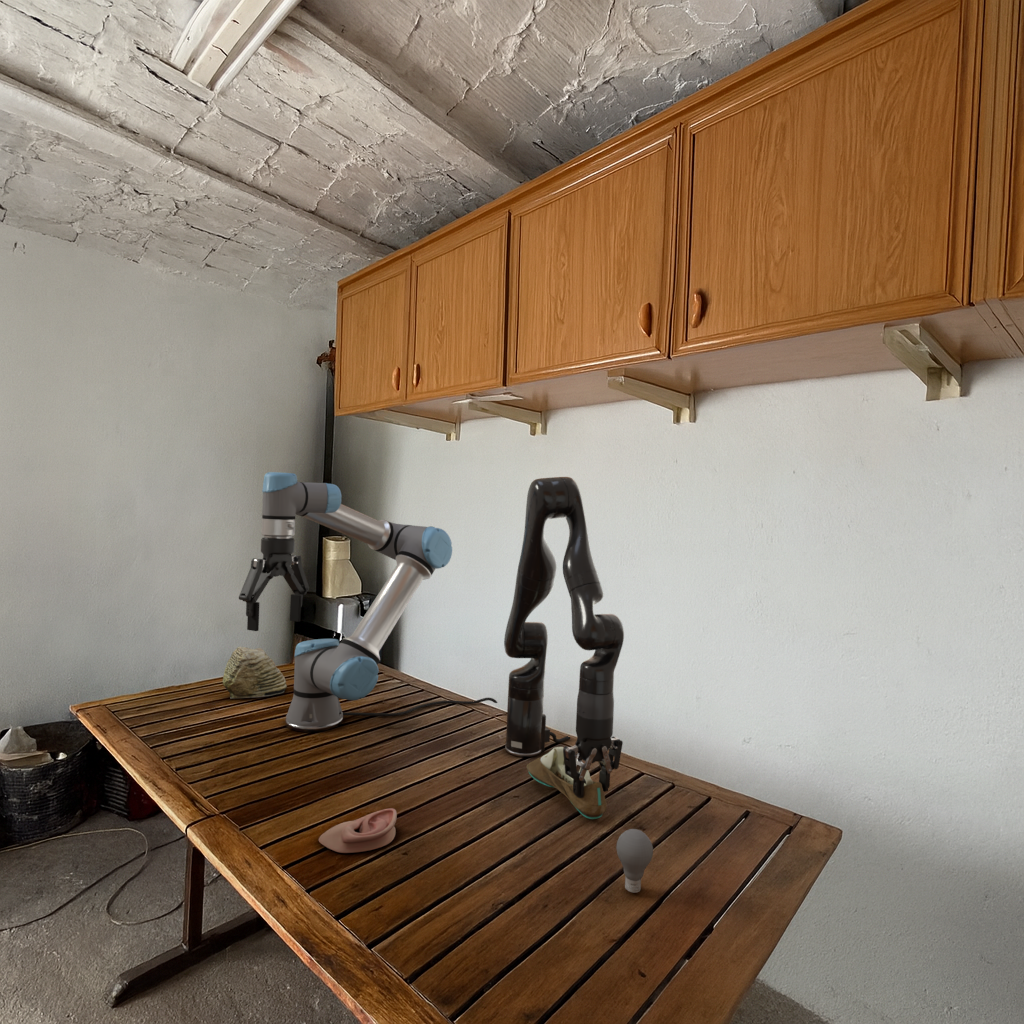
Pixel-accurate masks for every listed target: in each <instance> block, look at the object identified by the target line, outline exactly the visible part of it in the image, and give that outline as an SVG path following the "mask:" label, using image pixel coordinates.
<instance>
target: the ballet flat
mask: <svg viewBox="0 0 1024 1024" xmlns="http://www.w3.org/2000/svg"><path fill="white" fill-rule="evenodd" d="M563 748H564V746H555V747H553V748H552V749H551V750H549V752H547V753H545V754H544V755H541V756H540V757H537V758H535V759H534V760H532V761H530V762H529V763H527V764H526V770H527V771H528V774H529V776H530V777H531V778H532V779H533V780H534V781H536V782H538V783H539V784H541V785H544V786H546V787H549V788H555V789H556V790H558V791H559V792H560V793H561V794H562V795H563V796H565V798H567V799H568V800H569V802H570V803H571V804H572V805H573V807H574V808H575V809H576V811H578V813H579V814H580V815H581V816H583V817H584V818H586V819H588V820H596V819H597V820H598V819H600V818H602V816H603V814H604V813H605V812H606V811H607V802H606V797H605V796H606V795H605V792H603V788H602V784H601V783H600V782H599V781H594V780H593V779H592V778H591V774H590V771H589V770H587V771H586V774H585V777H584V779H583V780H584V797H583V798H578V797H577V796H576V795H575V794H574V793H573V778H571V777H570V776H568V775H566V774H565V765H564V754H563ZM580 770H581V768H580ZM580 770H579V773H580Z"/></svg>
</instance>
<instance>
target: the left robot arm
mask: <svg viewBox="0 0 1024 1024" xmlns="http://www.w3.org/2000/svg"><path fill="white" fill-rule="evenodd" d="M263 477H264V478H263V481H262V482H263V483H262V490H261V492H262V506H261V507H262V510H261V531H260V535H261V536H263V537H261V539H260V553H261V554H262V558H251V562H250V568H249V571H248V573H247V576H246V578H245V580H244V583H243V585H242V588H241V590H240V593H239V595H238V600H240V601H242V602H244V603H245V615H246V617H247V620H246V622H247V623H246V630H247V631H252V632H259V629H260V628H259V625H260V602H259V601H258V599H259V598H260V597H261V595H262V593H264V590H265V589H266V587H267V585H268V583H269V582H270V581H271V580H272V579H273V578H274V577H280V576H281V577H283V579H284V580H285V582H286V583H287V585H288V586H289V588H290V589H291V591H292V594H290V604H289V605H290V606H289V621H292V622H296V623H297V622H298V623H299V622H301V618H302V617H301V614H302V607H303V597H304V596H306V595H307V594H308V593H307V592H309V591H310V586H309V583H308V580H307V576H306V573H305V571H304V568H303V564H302V563H303V562H302V556H301V555H296V554H294V553H295V539H294V538H293V537H294V536H295V535H296V533H295V531H296V517H297V516H299V517H301V518H304V519H307V520H309V521H312V522H314V523H316V524H319V525H321V526H324V527H326V528H328V529H331V530H333V531H335V532H338V533H340V534H342V535H345V536H348V537H349V538H353V539H355V540H357V541H359V542H363V543H365V544H367V546H368V548H369V549H371V550H373V551H375V552H377V553H380V554H382V555H383V556H386V557H388V558H390V559H392V560H394V561H395V562H396V566H395V568H394V569H393V570H392V572H391V573H390V575H389V576H388V578H387V580H386V581H385V583H384V584H383V586H382V587H381V589H380V591H379V592H378V594H377V596H376V597H375V599H374V600H373V602H371V605H370V606H369V607H368V609H367V610H366V613H365V614H364V616H363V617H362V618H361V620H360V622H359V623H358V625H357V626H356V628H355V630H354V631H353V632H352V634H351V635H350V636H346V637H343V638H342V639H341V641H339V639H337V638H318V639H308V640H304V641H300V642H299V643H297V644H296V646H295V650H294V655H293V657H294V672H293V673H294V674H293V695H292V696H293V697H292V699H291V702H290V704H289V708H288V711H287V713H286V715H285V726H286V728H287V729H289V730H291V731H294V732H295V731H296V732H301V733H316V732H325V731H329V730H332V729H335V728H337V727H339V726H340V725H342V723H343V722H344V717H347V716H349V717H351V716H353V717H354V716H355V717H356V716H357V717H358V716H359V717H399V716H404V715H407V714H410V713H412V712H414V711H416V710H420V709H423V708H427V707H431V706H436V705H444V704H454V705H455V704H456V705H476V704H479V703H482V702H486V701H490V702H493V703H494V704H498V701H497V700H496V698H493V697H484V698H480V699H477V700H468V701H467V700H438V701H432V702H431V701H430V702H428V703H423V704H420V705H416V706H413V707H412V708H410V709H407V710H404V711H400V712H388V713H387V712H386V713H385V712H347V711H345V712H343V709H342V706H341V702H340V699H341V700H347V701H358V700H361V699H363V698H365V697H366V696H368V695H369V694H370V693H371V692H372V691H373V690H374V689H375V687H376V686H377V683H378V680H379V674H378V673H380V672H379V671H380V670H379V669H380V668H379V666H378V665H379V663H380V662H381V657H380V656H381V655H380V651H381V650H382V648H383V646H384V645H385V642H386V641H387V639H388V637H389V636H390V635H391V633H392V631H393V630H394V628H395V626H396V625H397V623H398V621H399V619H400V618H401V617H402V615H403V613H404V611H405V610H406V608H407V607H408V605H409V603H410V602H411V600H412V598H413V597H414V596H415V594H416V592H417V590H418V588H419V586H420V585H421V584H422V581H424V580H425V581H426V580H429V579H430V578H431V577H432V576H433V574H434V572H435V570H436V569H437V570H438V569H442V568H445V567H446V566H447V565H448V564H449V563H450V561H451V559H452V556H453V546H452V545H453V542H452V540H451V536H450V535H449V534H448V533H447V531H446V530H444V529H442V528H439V527H435V526H423V525H422V526H421V525H412V524H401V523H396V522H391V521H389V520H386V519H379V520H378V519H376V518H374V517H371V516H369V515H367V514H365V513H362V512H360V511H358V510H356V509H353V508H351V507H349V506H347V505H345V504H342V492H341V489H340V488H339V486H337V485H336V484H333V483H327V482H306V481H305V482H302V481H299V480H298V475H297V474H296V473H293V472H292V473H291V472H277V471H268V472H266V473H265V474H264V476H263ZM473 701H474V702H473Z"/></svg>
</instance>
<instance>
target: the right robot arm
mask: <svg viewBox="0 0 1024 1024" xmlns="http://www.w3.org/2000/svg"><path fill="white" fill-rule="evenodd" d="M526 496H527V497H526V504H525V518H524V519H525V520H524V529H523V530H524V533H523V540H522V545H521V551H520V555H519V556H520V557H519V561H518V566H517V572H516V579H515V585H514V594H513V600H512V603H511V608H510V612H509V616H508V620H507V623H506V627H505V632H504V638H503V639H504V640H503V648H504V652H505V654H506V655H507V656H508V657H509V658H511V659H530V660H529V661H528V662H527V663H525V664H524V665H521V666H520V667H518V668H514V669H512V670H511V671H510V672H509V674H508V685H507V688H508V689H507V711H506V730H505V731H506V733H505V746H504V747H505V748H504V749H505V752H506V753H507V754H509V755H512V756H513V757H514V756H515V757H519V758H531V757H535V756H536V757H537V756H539V755H540V754H541V753H545V749H546V748H545V747H546V743H550V742H551V737H552V740H553V742H554V743H556V744H561V743H564V742H567V741H569V740H571V736H570V737H568V736H569V735H566V736H564V737H562V738H557V735H556V733H554V732H553V731H551V729H550V728H548V727H547V725H546V724H547V715H546V713H544V696H545V679H546V668H547V667H546V665H547V656H548V655H547V654H548V647H549V645H548V644H549V631H548V628H547V625H546V624H545V623H544V622H543V621H527V619H528V617H529V616H530V615H531V614H532V613H533V612H534V610H536V609H537V608H538V607H539V606H540V605H541V604H542V603H543V602H544V601H545V600H546V599H547V598H548V597H549V595H550V594H551V592H552V591H553V589H554V586H555V582H556V576H557V571H558V562H557V558H556V555H555V554H554V552H553V550H552V549H551V547H550V545H549V543H548V542H547V539H546V536H545V528H546V527H545V526H546V523H547V521H548V520H552V519H563V518H565V521H566V524H567V526H568V540H567V545H566V549H565V552H564V555H563V560H562V574H563V579H564V582H565V585H566V588H567V592H568V596H569V598H570V610H571V631H572V636H573V639H574V641H575V643H576V644H577V645H578V647H579V648H581V649H582V650H583V651H594V652H593V655H592V656H590V657H589V658H587V659H585V660H583V661H582V662H581V663H580V666H579V667H580V668H579V676H578V677H579V678H578V692H577V699H576V713H575V714H576V717H575V733H576V741H575V743H574V745H572V746H567V745H565V746H563V754H564V765H565V774H566V775H568V776H570V777H571V778H573V793H574V794H575V795H576V796H577V797H578V798H583V797H584V780H583V779H584V777H585V774H586V771H587V770H588V771H589V770H590V769H591V766H592V764H595V763H596V762H597V763H598V765H599V769H600V770H599V773H598V782H600V783H601V784H602V788H603V792H604V793H605V792H608V791H609V788H610V786H611V774H612V773H613V771H614V770H618V769H619V767H620V763H621V762H620V761H621V757H622V749H623V745H624V744H623V743H624V742H623V740H621V739H619V737H616V736H613V734H614V717H615V716H614V714H615V711H614V710H615V698H614V697H615V696H614V689H615V688H614V683H615V671H616V668H617V665H618V662H619V658H620V655H621V652H622V648H623V645H624V641H625V628H624V625H623V622H622V620H621V619H620V618H619V616H618V615H616V614H614V613H597V614H595V612H594V606H595V605H597V604H599V603H601V601H603V599H604V597H605V596H604V595H605V593H604V589H603V586H602V583H601V580H600V577H599V573H598V570H597V568H596V565H595V562H594V557H593V553H592V550H591V544H590V537H589V533H588V532H589V531H588V525H587V520H586V516H585V509H584V503H583V499H582V494H581V491H580V488H579V486H578V483H577V482H576V481H575V479H574V478H572V477H570V476H554V477H553V476H552V477H541V478H536V479H533V480H532V482H531V483H530V484H529V487H528V491H527V495H526ZM583 761H584V762H583ZM580 768H581V770H580ZM579 770H580V773H579Z"/></svg>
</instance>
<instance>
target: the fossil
mask: <svg viewBox="0 0 1024 1024" xmlns="http://www.w3.org/2000/svg"><path fill="white" fill-rule="evenodd" d="M222 676H223V677H222V685H223V687H224V688H225V690H226V691H228V693H229V698H230V699H250V698H264V697H271V696H275V695H281V694H284V693H285V691H286V689H287V687H288V686H287V680H286V678H285V676H284V674H283V673H282V672H281V669H279V668H278V667H277V665H276V663H275V662H274V660H273V659H272V658H271V657H270V656H269V655H268V654H267V653H266V652H265V650H264V649H263V648H260V647H258V648H251V647H247V646H246V647H245V646H238V647H237V648H236V649H235V650H233V651H232V653H231V656H230V657H229V659H228V660H227V663H226V666H225V668H224V671H223V675H222Z"/></svg>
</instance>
